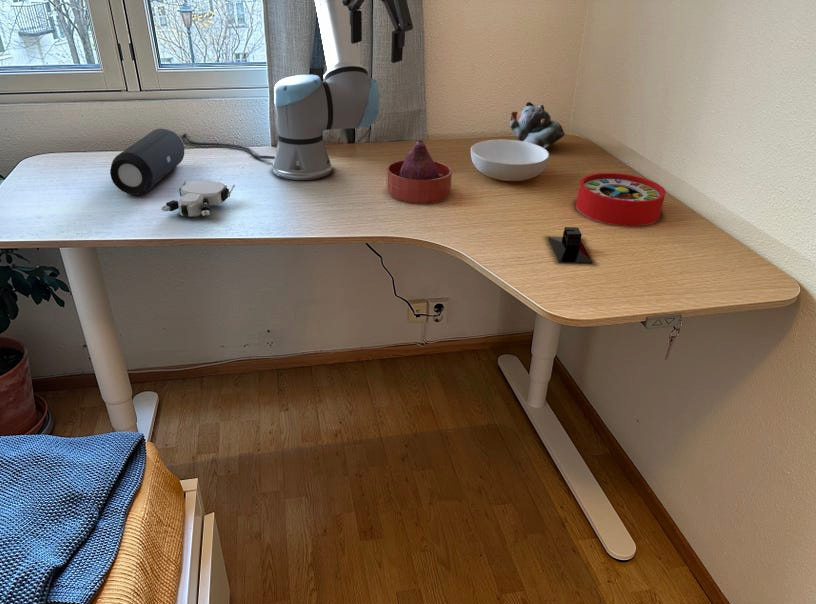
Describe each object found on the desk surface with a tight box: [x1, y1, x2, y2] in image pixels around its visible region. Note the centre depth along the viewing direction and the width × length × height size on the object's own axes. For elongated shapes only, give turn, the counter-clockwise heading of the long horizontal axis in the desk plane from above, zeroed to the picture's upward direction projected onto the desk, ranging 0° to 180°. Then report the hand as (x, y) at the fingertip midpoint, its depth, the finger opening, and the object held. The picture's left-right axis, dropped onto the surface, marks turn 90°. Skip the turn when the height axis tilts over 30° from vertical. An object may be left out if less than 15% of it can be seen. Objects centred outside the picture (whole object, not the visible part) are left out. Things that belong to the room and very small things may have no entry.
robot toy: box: [160, 179, 236, 217], centre depth 150 cm, size 12×4×15 cm
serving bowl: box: [470, 138, 550, 182], centre depth 176 cm, size 21×21×7 cm
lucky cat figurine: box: [509, 101, 566, 150], centre depth 199 cm, size 15×12×14 cm
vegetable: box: [399, 139, 439, 180], centre depth 160 cm, size 10×10×15 cm
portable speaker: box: [109, 128, 185, 195], centre depth 163 cm, size 26×10×10 cm, turn 176°
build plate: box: [547, 226, 594, 265], centre depth 139 cm, size 12×7×5 cm, turn 1°
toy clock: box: [575, 172, 666, 227], centre depth 159 cm, size 20×6×20 cm
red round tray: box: [385, 159, 453, 205], centre depth 163 cm, size 16×16×6 cm
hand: (376, 51), depth 149 cm, fingers open, 13 cm apart
